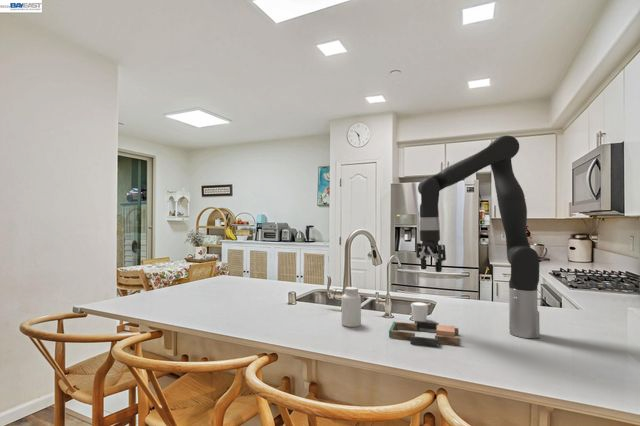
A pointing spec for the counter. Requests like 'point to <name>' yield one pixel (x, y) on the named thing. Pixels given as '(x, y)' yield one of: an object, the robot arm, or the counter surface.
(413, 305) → the white tapered cylinder
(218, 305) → the counter surface
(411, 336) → the trap lane
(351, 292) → the pill bottle
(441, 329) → the terracotta block
